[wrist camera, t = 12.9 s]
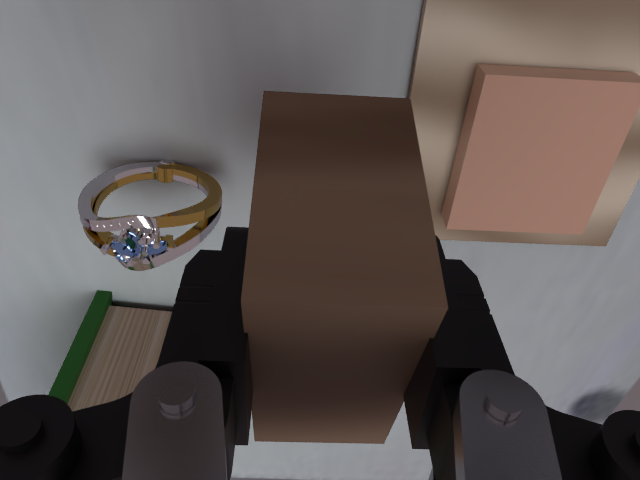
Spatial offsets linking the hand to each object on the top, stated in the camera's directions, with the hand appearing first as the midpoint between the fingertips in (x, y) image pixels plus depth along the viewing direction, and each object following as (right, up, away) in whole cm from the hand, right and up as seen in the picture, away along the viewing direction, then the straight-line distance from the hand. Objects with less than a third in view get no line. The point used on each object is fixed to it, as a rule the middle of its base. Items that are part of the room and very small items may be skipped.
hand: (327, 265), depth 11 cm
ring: (-9, +5, +19) cm, 21 cm away
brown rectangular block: (0, 0, +3) cm, 3 cm away
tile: (+12, +9, +14) cm, 20 cm away
